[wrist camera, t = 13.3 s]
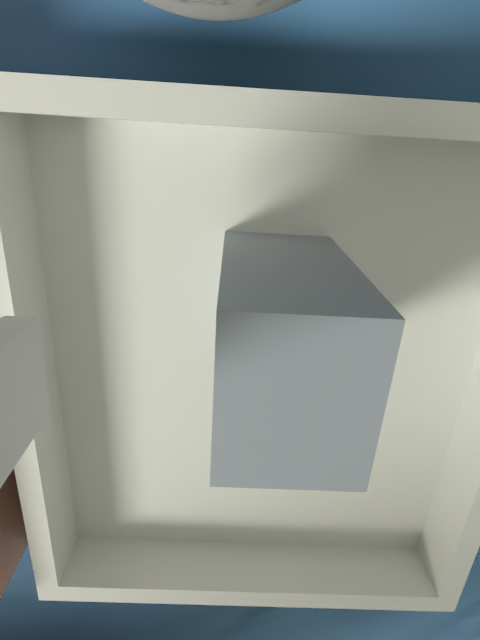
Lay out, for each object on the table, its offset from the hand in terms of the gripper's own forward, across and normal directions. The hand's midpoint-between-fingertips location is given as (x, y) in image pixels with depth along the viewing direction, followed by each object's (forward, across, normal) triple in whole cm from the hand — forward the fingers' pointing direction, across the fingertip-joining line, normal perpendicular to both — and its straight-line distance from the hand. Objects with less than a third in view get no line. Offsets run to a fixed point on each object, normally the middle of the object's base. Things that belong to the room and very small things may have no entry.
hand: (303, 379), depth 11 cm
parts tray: (+7, 0, +4) cm, 8 cm away
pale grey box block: (+7, 0, 0) cm, 7 cm away
